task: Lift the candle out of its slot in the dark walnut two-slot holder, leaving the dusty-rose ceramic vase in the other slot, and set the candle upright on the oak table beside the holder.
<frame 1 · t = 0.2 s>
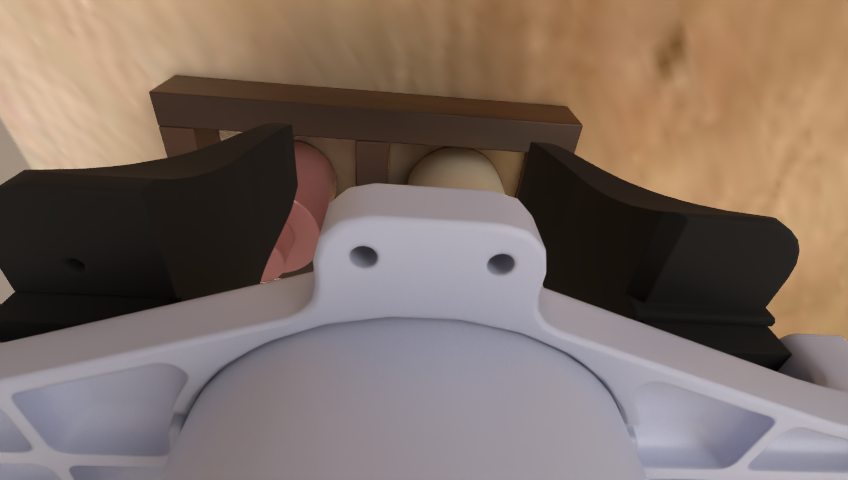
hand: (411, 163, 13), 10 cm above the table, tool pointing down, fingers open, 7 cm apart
candle: (452, 187, 26), resting in holder
holder: (374, 184, 25), on the table
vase: (294, 178, 25), resting in holder
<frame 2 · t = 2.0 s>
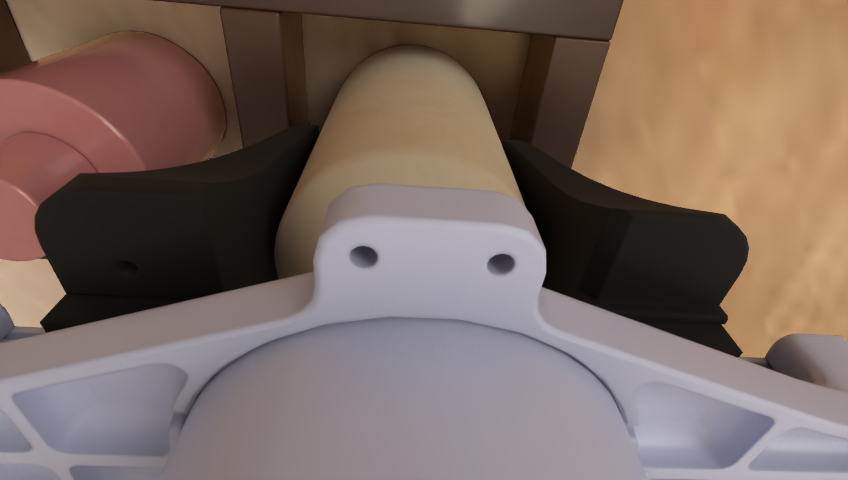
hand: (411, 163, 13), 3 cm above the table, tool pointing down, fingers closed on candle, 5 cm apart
candle: (410, 120, 16), resting in holder, touching gripper
holder: (286, 113, 16), on the table
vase: (156, 103, 16), resting in holder
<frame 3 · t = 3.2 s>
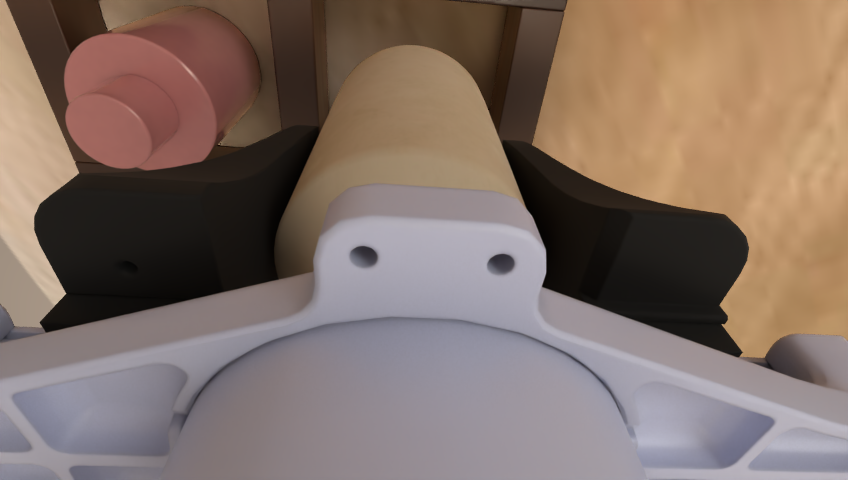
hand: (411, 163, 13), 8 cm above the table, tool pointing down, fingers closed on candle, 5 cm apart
candle: (410, 120, 16), point 4 cm above the table, touching gripper
holder: (309, 75, 19), on the table
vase: (205, 66, 19), resting in holder
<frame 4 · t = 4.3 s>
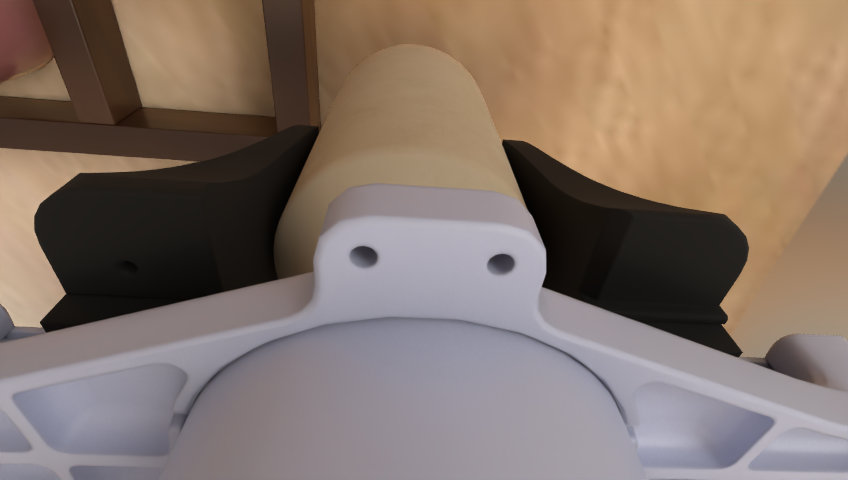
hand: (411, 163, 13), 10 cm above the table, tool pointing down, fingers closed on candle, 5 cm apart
candle: (410, 119, 16), point 7 cm above the table, touching gripper
holder: (101, 26, 20), on the table
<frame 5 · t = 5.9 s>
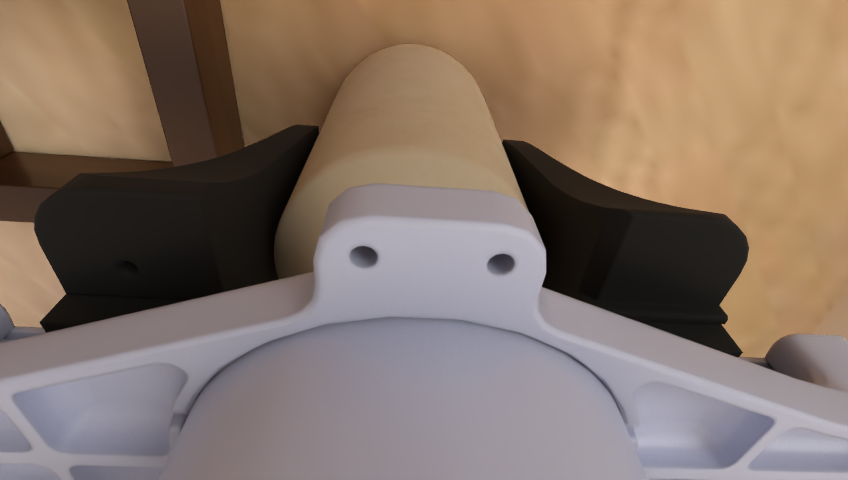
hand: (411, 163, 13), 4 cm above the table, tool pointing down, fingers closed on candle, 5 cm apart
candle: (410, 119, 16), point 1 cm above the table, touching gripper
when the fingers open (3 cm above the table, at t = 6.7 s): candle stays where it is, on the table.
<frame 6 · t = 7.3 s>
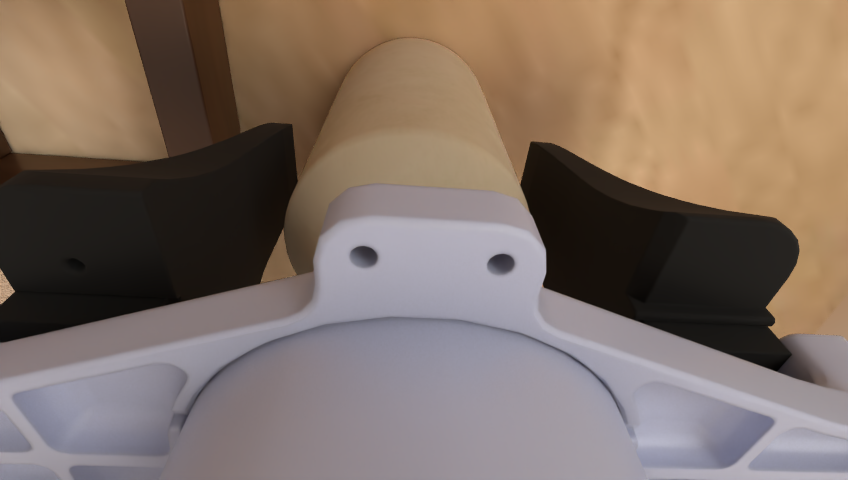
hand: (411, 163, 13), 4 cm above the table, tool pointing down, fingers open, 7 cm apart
candle: (411, 111, 17), on the table
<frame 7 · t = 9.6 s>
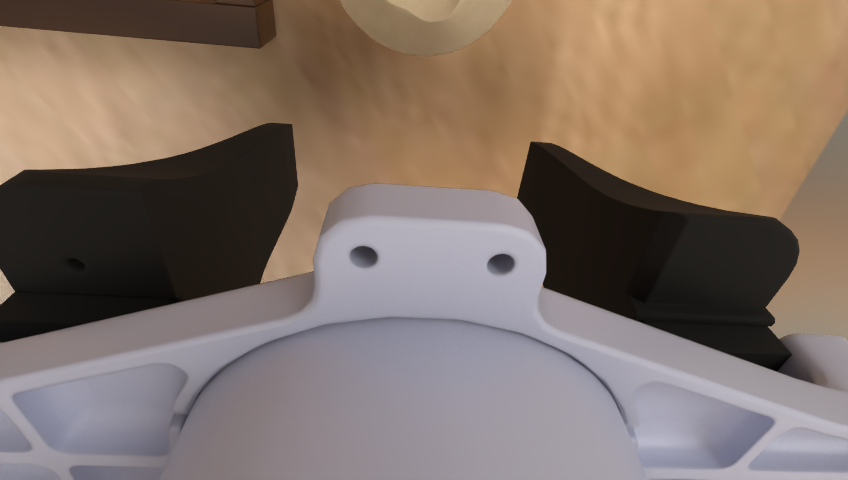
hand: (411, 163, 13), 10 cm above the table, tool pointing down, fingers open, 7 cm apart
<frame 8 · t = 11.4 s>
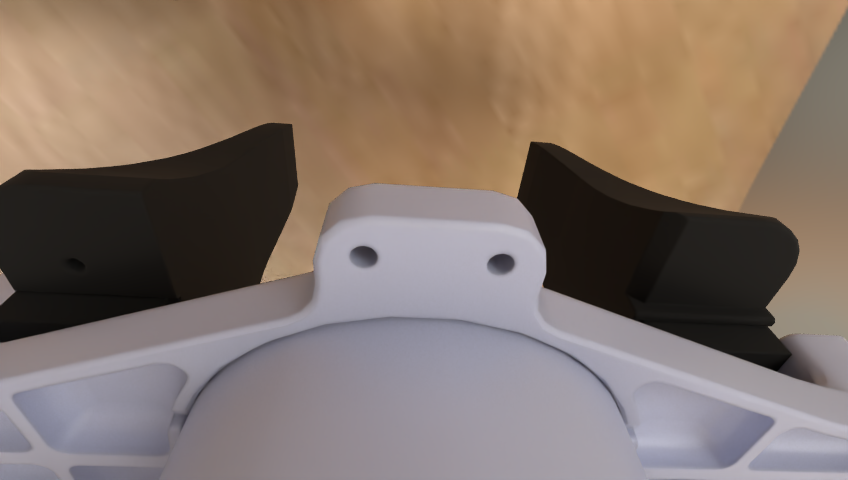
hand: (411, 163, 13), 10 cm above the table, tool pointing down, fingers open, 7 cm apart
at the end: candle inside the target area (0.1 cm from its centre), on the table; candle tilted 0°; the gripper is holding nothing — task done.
